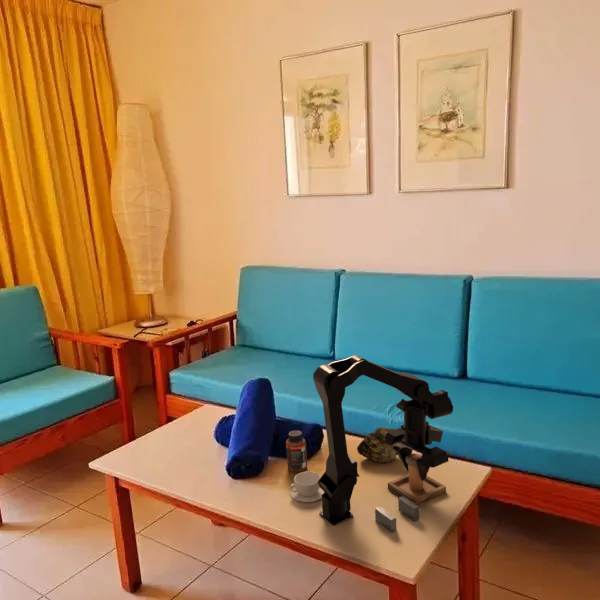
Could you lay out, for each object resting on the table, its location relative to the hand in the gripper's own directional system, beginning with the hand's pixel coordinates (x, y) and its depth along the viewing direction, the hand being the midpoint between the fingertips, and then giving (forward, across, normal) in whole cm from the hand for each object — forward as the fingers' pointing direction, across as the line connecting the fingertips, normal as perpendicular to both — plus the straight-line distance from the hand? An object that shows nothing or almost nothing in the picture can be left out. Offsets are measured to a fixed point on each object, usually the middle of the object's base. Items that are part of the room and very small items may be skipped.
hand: (416, 475), depth 151 cm
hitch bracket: (+4, -7, +13) cm, 15 cm away
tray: (+4, 0, 0) cm, 4 cm away
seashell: (+5, +20, -4) cm, 21 cm away
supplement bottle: (+5, +31, +19) cm, 37 cm away
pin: (+4, 0, 0) cm, 4 cm away
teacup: (+5, +18, +24) cm, 30 cm away
